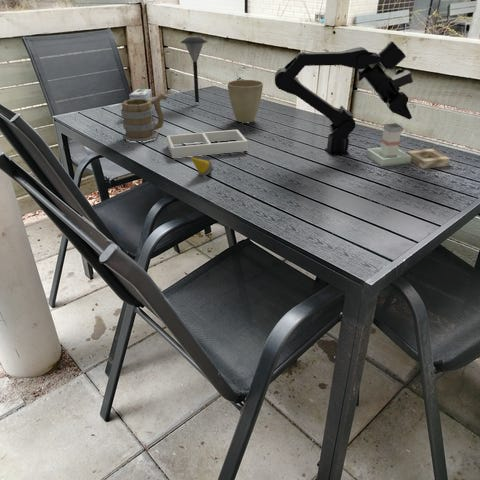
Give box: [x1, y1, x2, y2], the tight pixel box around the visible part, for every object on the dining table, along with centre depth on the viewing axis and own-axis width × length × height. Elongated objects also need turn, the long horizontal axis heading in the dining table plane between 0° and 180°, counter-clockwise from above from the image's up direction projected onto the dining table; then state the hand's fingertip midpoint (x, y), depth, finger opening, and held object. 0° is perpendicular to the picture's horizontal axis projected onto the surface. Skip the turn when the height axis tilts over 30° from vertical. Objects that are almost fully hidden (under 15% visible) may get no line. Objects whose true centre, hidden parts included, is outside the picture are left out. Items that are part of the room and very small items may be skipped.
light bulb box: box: [128, 88, 154, 107], centre depth 196 cm, size 11×7×11 cm, turn 172°
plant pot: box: [227, 79, 264, 124], centre depth 186 cm, size 15×15×16 cm
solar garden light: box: [180, 36, 208, 103], centre depth 207 cm, size 12×12×30 cm
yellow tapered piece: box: [189, 157, 214, 177], centre depth 138 cm, size 5×5×10 cm
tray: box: [365, 147, 412, 168], centre depth 150 cm, size 11×11×2 cm
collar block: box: [406, 148, 451, 170], centre depth 148 cm, size 10×10×2 cm
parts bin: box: [166, 129, 249, 159], centre depth 160 cm, size 27×14×4 cm, turn 105°
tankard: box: [120, 93, 168, 142], centre depth 170 cm, size 20×13×15 cm, turn 131°
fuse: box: [379, 123, 404, 158], centre depth 147 cm, size 4×4×11 cm
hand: (407, 114), depth 149 cm, fingers open, 9 cm apart
